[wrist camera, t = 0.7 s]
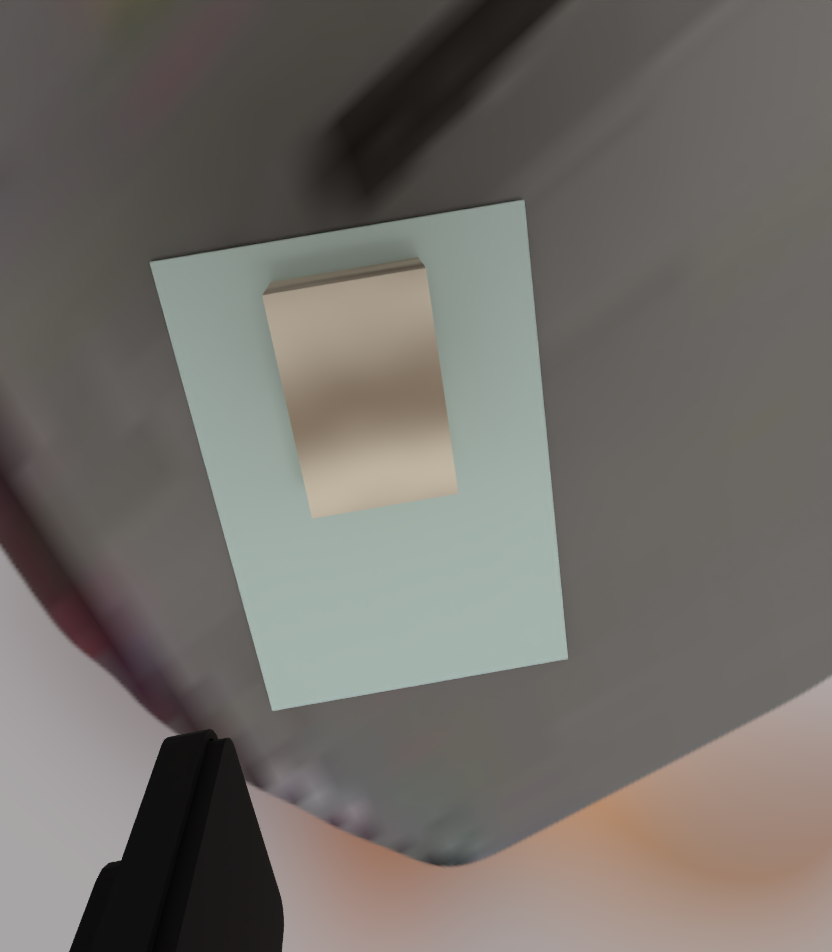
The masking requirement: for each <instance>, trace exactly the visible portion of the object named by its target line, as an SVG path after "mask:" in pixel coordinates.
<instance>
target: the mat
mask: <svg viewBox="0 0 832 952" xmlns="http://www.w3.org/2000/svg"><path fill="white" fill-rule="evenodd" d="M417 257H418V258H419V259H420V260H421V262H422V263H423V264H424V266H425V267H426V271H427V278H428V285H429V292H430V299H431V306H432V313H433V320H434V327H435V333H436V340H437V347H438V354H439V361H440V368H441V375H442V382H443V389H444V396H445V403H446V410H447V417H448V423H449V430H450V437H451V444H452V451H453V458H454V465H455V472H456V479H457V486H458V494H452V495H447V496H441V497H435V498H429V499H423V500H418V501H412V502H406V503H400V504H394V505H389V506H383V507H377V508H371V509H365V510H360V511H354V512H348V513H342V514H336V515H331V516H325V517H319V518H313V519H312V516H311V511H310V507H309V503H308V498H307V494H306V489H305V485H304V480H303V476H302V471H301V467H300V462H299V458H298V454H297V449H296V445H295V440H294V436H293V431H292V427H291V422H290V418H289V414H288V409H287V405H286V400H285V396H284V391H283V387H282V382H281V378H280V373H279V369H278V365H277V360H276V356H275V351H274V347H273V342H272V338H271V333H270V329H269V325H268V320H267V316H266V311H265V307H264V302H263V298H262V295H263V293H264V292H265V290H266V289H267V287H268V286H269V284H270V283H271V282H273V281H279V280H285V279H291V278H297V277H303V276H309V275H315V274H321V273H327V272H333V271H339V270H345V269H351V268H357V267H363V266H369V265H375V264H381V263H387V262H393V261H399V260H405V259H411V258H417ZM150 266H151V270H152V273H153V277H154V280H155V284H156V288H157V291H158V295H159V299H160V302H161V306H162V310H163V313H164V317H165V321H166V324H167V328H168V332H169V335H170V339H171V342H172V346H173V350H174V353H175V357H176V361H177V364H178V368H179V372H180V375H181V379H182V383H183V386H184V390H185V394H186V397H187V401H188V404H189V408H190V412H191V415H192V419H193V423H194V426H195V430H196V434H197V437H198V441H199V445H200V448H201V452H202V456H203V459H204V463H205V467H206V470H207V474H208V477H209V481H210V485H211V488H212V492H213V496H214V499H215V503H216V507H217V510H218V514H219V518H220V521H221V525H222V529H223V532H224V536H225V539H226V543H227V547H228V550H229V554H230V558H231V561H232V565H233V569H234V572H235V576H236V580H237V583H238V587H239V591H240V594H241V598H242V602H243V605H244V609H245V612H246V616H247V620H248V623H249V627H250V631H251V634H252V638H253V642H254V645H255V649H256V653H257V656H258V660H259V664H260V667H261V671H262V674H263V678H264V682H265V685H266V689H267V693H268V696H269V700H270V704H271V707H272V711H275V710H280V709H286V708H292V707H297V706H303V705H309V704H314V703H320V702H326V701H331V700H337V699H343V698H348V697H354V696H360V695H365V694H371V693H377V692H382V691H388V690H394V689H399V688H405V687H411V686H416V685H422V684H428V683H433V682H439V681H445V680H451V679H456V678H462V677H468V676H473V675H479V674H485V673H490V672H496V671H502V670H507V669H513V668H519V667H524V666H530V665H536V664H541V663H547V662H553V661H558V660H564V659H568V654H567V643H566V633H565V622H564V612H563V601H562V591H561V580H560V570H559V559H558V549H557V538H556V528H555V517H554V507H553V496H552V486H551V475H550V465H549V454H548V443H547V433H546V422H545V412H544V401H543V391H542V380H541V370H540V359H539V349H538V338H537V328H536V317H535V307H534V296H533V286H532V275H531V265H530V254H529V243H528V233H527V222H526V212H525V201H524V200H517V201H511V202H505V203H499V204H493V205H487V206H481V207H475V208H469V209H463V210H457V211H451V212H445V213H439V214H433V215H427V216H421V217H415V218H409V219H403V220H397V221H391V222H385V223H379V224H373V225H367V226H361V227H355V228H349V229H343V230H337V231H331V232H325V233H319V234H313V235H307V236H301V237H295V238H289V239H283V240H277V241H271V242H265V243H259V244H253V245H247V246H241V247H235V248H229V249H223V250H217V251H211V252H205V253H199V254H193V255H187V256H181V257H175V258H169V259H163V260H157V261H151V262H150Z"/></svg>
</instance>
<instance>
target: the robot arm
mask: <svg viewBox="0 0 832 952" xmlns="http://www.w3.org/2000/svg"><path fill="white" fill-rule="evenodd" d="M283 932H284V915H283V906H282V900H281V896H280V893H279V889H278V886H277V883H276V880H275V877H274V873H273V870H272V867H271V863H270V860H269V857H268V854H267V850H266V847H265V844H264V841H263V837H262V834H261V831H260V828H259V824H258V821H257V818H256V815H255V812H254V808H253V806H252V802H251V799H250V796H249V792H248V789H247V786H246V782H245V779H244V776H243V773H242V769H241V766H240V763H239V760H238V756H237V753H236V750H235V747H234V744H233V742H232V740H231V739H230V738H224V739H219V740H218V738H217V735H216V734H215V732H214V731H213V730H211V729H208V730H203V731H197V732H192V733H187V734H182V735H177V736H172V737H168V738H166V739H165V740H164V741H163V743H162V745H161V748H160V751H159V754H158V757H157V760H156V762H155V765H154V768H153V771H152V774H151V777H150V780H149V783H148V785H147V788H146V791H145V794H144V797H143V800H142V803H141V805H140V808H139V811H138V814H137V817H136V820H135V823H134V825H133V828H132V831H131V834H130V837H129V840H128V843H127V845H126V849H125V851H124V854H123V857H122V860H121V861H116V862H111V863H108V864H107V865H106V866H105V867H104V868H103V869H102V870H101V872H100V874H99V876H98V878H97V880H96V882H95V885H94V887H93V890H92V892H91V895H90V898H89V900H88V903H87V906H86V908H85V911H84V914H83V916H82V919H81V922H80V924H79V927H78V930H77V932H76V935H75V938H74V940H73V943H72V946H71V948H70V951H69V952H282V943H283Z"/></svg>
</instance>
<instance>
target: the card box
mask: <svg viewBox="0 0 832 952" xmlns="http://www.w3.org/2000/svg"><path fill="white" fill-rule="evenodd" d="M262 298H263V302H264V307H265V311H266V316H267V320H268V325H269V329H270V333H271V338H272V342H273V347H274V351H275V356H276V360H277V365H278V369H279V373H280V378H281V382H282V387H283V391H284V396H285V400H286V405H287V409H288V414H289V418H290V422H291V427H292V431H293V436H294V440H295V445H296V449H297V454H298V458H299V462H300V467H301V471H302V476H303V480H304V485H305V489H306V494H307V498H308V503H309V507H310V511H311V516H312V519H313V518H319V517H325V516H331V515H336V514H342V513H348V512H354V511H360V510H365V509H371V508H377V507H383V506H389V505H394V504H400V503H406V502H412V501H418V500H423V499H429V498H435V497H441V496H447V495H452V494H458V486H457V479H456V472H455V465H454V458H453V451H452V444H451V437H450V430H449V423H448V417H447V410H446V403H445V396H444V389H443V382H442V375H441V368H440V361H439V354H438V347H437V340H436V333H435V327H434V320H433V313H432V306H431V299H430V292H429V285H428V278H427V271H426V267H425V266H424V264H423V263H422V262H421V260H420V259H419V258H418V257H417V258H411V259H405V260H399V261H393V262H387V263H381V264H375V265H369V266H363V267H357V268H351V269H345V270H339V271H333V272H327V273H321V274H315V275H309V276H303V277H297V278H291V279H285V280H279V281H273V282H271V283H270V284H269V286H268V287H267V289H266V290H265V292H264V293H263V295H262Z"/></svg>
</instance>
